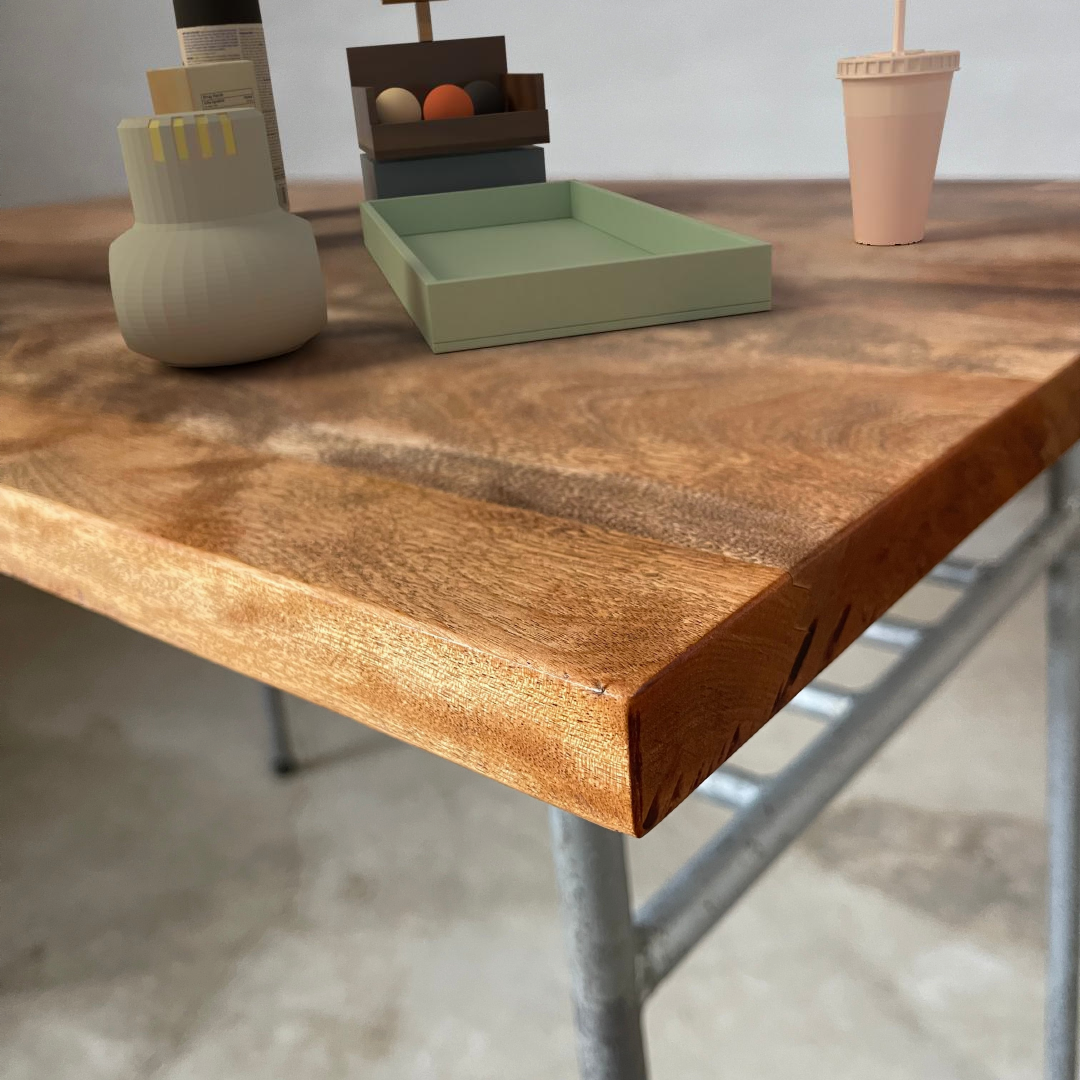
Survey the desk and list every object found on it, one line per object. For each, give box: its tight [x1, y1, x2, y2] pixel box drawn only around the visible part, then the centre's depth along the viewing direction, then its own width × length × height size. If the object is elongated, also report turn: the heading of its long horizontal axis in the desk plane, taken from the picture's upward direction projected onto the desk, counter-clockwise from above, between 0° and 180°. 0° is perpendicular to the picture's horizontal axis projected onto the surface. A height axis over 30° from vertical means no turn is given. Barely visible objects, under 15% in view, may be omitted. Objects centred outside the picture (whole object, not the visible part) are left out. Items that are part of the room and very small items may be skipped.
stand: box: [359, 144, 547, 201], centre depth 84 cm, size 11×12×5 cm
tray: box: [358, 178, 773, 354], centre depth 62 cm, size 33×15×3 cm, turn 13°
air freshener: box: [108, 108, 328, 368], centre depth 48 cm, size 11×8×10 cm
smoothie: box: [834, 0, 962, 246], centre depth 61 cm, size 6×6×14 cm
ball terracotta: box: [423, 85, 474, 120], centre depth 80 cm, size 4×4×4 cm
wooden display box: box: [345, 0, 551, 160], centre depth 80 cm, size 14×12×12 cm
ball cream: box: [376, 88, 421, 124], centre depth 83 cm, size 4×4×4 cm
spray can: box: [172, 0, 291, 213], centre depth 90 cm, size 7×7×20 cm
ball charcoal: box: [463, 81, 505, 116], centre depth 85 cm, size 4×4×4 cm
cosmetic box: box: [145, 60, 262, 115], centre depth 78 cm, size 6×4×12 cm
